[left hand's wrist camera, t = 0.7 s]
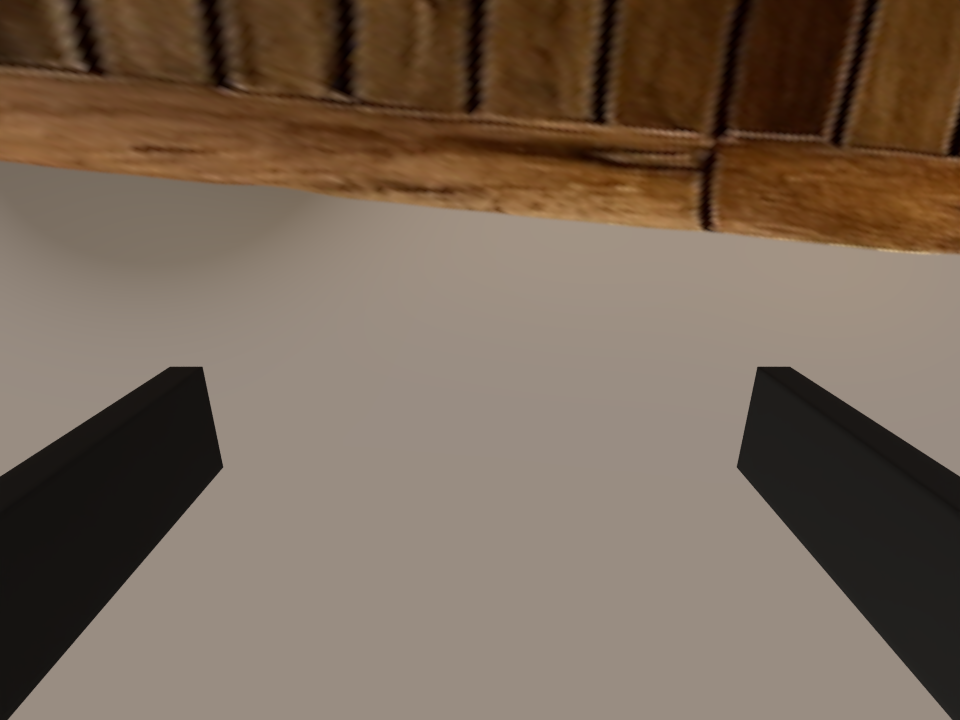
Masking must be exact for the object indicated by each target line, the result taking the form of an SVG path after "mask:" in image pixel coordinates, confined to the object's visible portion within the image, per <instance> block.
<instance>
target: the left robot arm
mask: <svg viewBox="0 0 960 720" xmlns="http://www.w3.org/2000/svg"><path fill="white" fill-rule="evenodd" d="M222 468H223V464H222V459H221V454H220V450H219V445H218V440H217V435H216V430H215V425H214V420H213V415H212V411H211V406H210V401H209V396H208V391H207V386H206V382H205V377H204V372H203V367H169V368H167V369H166V370H164V371H163V372H161V373H160V374H158V375H157V376H155V377H154V378H152V379H150V380H149V381H147V382H146V383H144V384H143V385H141V386H140V387H138V388H137V389H135V390H133V391H132V392H130V393H129V394H127V395H126V396H124V397H123V398H121V399H120V400H118V401H116V402H115V403H113V404H112V405H110V406H109V407H107V408H106V409H104V410H103V411H101V412H99V413H98V414H96V415H95V416H93V417H92V418H90V419H89V420H87V421H85V422H84V423H82V424H81V425H79V426H78V427H76V428H75V429H73V430H72V431H70V432H69V433H67V434H65V435H64V436H62V437H61V438H59V439H58V440H56V441H55V442H53V443H51V444H50V445H48V446H47V447H45V448H44V449H42V450H41V451H39V452H38V453H36V454H34V455H33V456H31V457H30V458H28V459H27V460H25V461H24V462H22V463H21V464H19V465H17V466H16V467H14V468H13V469H11V470H10V471H8V472H7V473H5V474H4V475H2V476H0V720H8V719H9V717H10V716H11V715H12V714H13V713H14V712H15V710H16V709H17V708H18V707H19V706H20V705H21V703H22V702H23V701H24V700H25V699H26V697H27V696H28V695H29V694H30V693H31V692H32V690H33V689H34V688H35V687H36V686H37V685H38V683H39V682H40V681H41V680H42V679H43V678H44V676H45V675H46V674H47V673H48V672H49V671H50V669H51V668H52V667H53V666H54V665H55V664H56V662H57V661H58V660H59V659H60V658H61V657H62V655H63V654H64V653H65V652H66V651H67V649H68V648H69V647H70V646H71V645H72V644H73V643H74V641H75V640H76V639H77V638H78V637H79V635H80V634H81V633H82V632H83V631H84V630H85V628H86V627H87V626H88V625H89V624H90V623H91V621H92V620H93V619H94V618H95V617H96V616H97V614H98V613H99V612H100V611H101V610H102V609H103V607H104V606H105V605H106V604H107V603H108V602H109V600H110V599H111V598H112V597H113V596H114V594H115V593H116V592H117V591H118V590H119V589H120V587H121V586H122V585H123V584H124V583H125V582H126V580H127V579H128V578H129V577H130V576H131V575H132V573H133V572H134V571H135V570H136V569H137V568H138V566H139V565H140V564H141V563H142V562H143V560H144V559H145V558H146V557H147V556H148V555H149V553H150V552H151V551H152V550H153V549H154V548H155V546H156V545H157V544H158V543H159V542H160V541H161V539H162V538H163V537H164V536H165V535H166V534H167V532H168V531H169V530H170V529H171V528H172V527H173V525H174V524H175V523H176V522H177V521H178V520H179V518H180V517H181V516H182V515H183V514H184V513H185V511H186V510H187V509H188V508H189V507H190V505H191V504H192V503H193V502H194V501H195V500H196V498H197V497H198V496H199V495H200V494H201V493H202V491H203V490H204V489H205V488H206V487H207V485H208V484H209V483H210V482H211V481H212V480H213V479H214V477H215V476H216V475H217V474H218V473H219V472H220V470H221V469H222ZM737 468H738V469H739V470H740V471H741V473H742V474H743V475H744V476H745V477H746V479H747V480H748V481H749V482H750V483H751V484H752V486H753V487H754V488H755V489H756V490H757V491H758V492H759V494H760V495H761V496H762V497H763V498H764V500H765V501H766V502H767V503H768V504H769V505H770V507H771V508H772V509H773V510H774V511H775V512H776V514H777V515H778V516H779V517H780V518H781V520H782V521H783V522H784V523H785V524H786V525H787V527H788V528H789V529H790V530H791V531H792V532H793V534H794V535H795V536H796V537H797V538H798V539H799V541H800V542H801V543H802V544H803V545H804V546H805V548H806V549H807V550H808V551H809V552H810V553H811V555H812V556H813V557H814V558H815V559H816V561H817V562H818V563H819V564H820V565H821V566H822V568H823V569H824V570H825V571H826V572H827V573H828V575H829V576H830V577H831V578H832V579H833V580H834V582H835V583H836V584H837V585H838V586H839V587H840V589H841V590H842V591H843V592H844V593H845V594H846V596H847V597H848V598H849V599H850V600H851V602H852V603H853V604H854V605H855V606H856V607H857V609H858V610H859V611H860V612H861V613H862V614H863V616H864V617H865V618H866V619H867V620H868V621H869V623H870V624H871V625H872V626H873V627H874V628H875V630H876V631H877V632H878V633H879V634H880V635H881V637H882V638H883V639H884V640H885V641H886V642H887V644H888V645H889V646H890V647H891V648H892V649H893V651H894V652H895V653H896V654H897V655H898V657H899V658H900V659H901V660H902V661H903V662H904V664H905V665H906V666H907V667H908V668H909V669H910V671H911V672H912V673H913V674H914V675H915V676H916V678H917V679H918V680H919V681H920V682H921V684H922V685H923V686H924V687H925V688H926V689H927V691H928V692H929V693H930V694H931V695H932V696H933V698H934V699H935V700H936V701H937V702H938V703H939V705H940V706H941V707H942V708H943V709H944V710H945V712H946V713H947V714H948V715H949V716H950V717H951V719H952V720H960V476H958V475H956V474H955V473H953V472H952V471H950V470H949V469H947V468H946V467H944V466H943V465H941V464H939V463H938V462H936V461H935V460H933V459H932V458H930V457H929V456H927V455H926V454H924V453H922V452H921V451H919V450H918V449H916V448H915V447H913V446H912V445H910V444H909V443H907V442H905V441H904V440H902V439H901V438H899V437H898V436H896V435H895V434H893V433H892V432H890V431H888V430H887V429H885V428H884V427H882V426H881V425H879V424H878V423H876V422H874V421H873V420H871V419H870V418H868V417H867V416H865V415H864V414H862V413H861V412H859V411H857V410H856V409H854V408H853V407H851V406H850V405H848V404H847V403H845V402H844V401H842V400H840V399H839V398H837V397H836V396H834V395H833V394H831V393H830V392H828V391H826V390H825V389H823V388H822V387H820V386H819V385H817V384H816V383H814V382H813V381H811V380H810V379H808V378H806V377H805V376H803V375H802V374H800V373H799V372H797V371H796V370H794V369H792V368H791V367H757V372H756V377H755V382H754V386H753V391H752V396H751V401H750V406H749V411H748V415H747V420H746V425H745V430H744V435H743V440H742V445H741V449H740V454H739V459H738V464H737Z"/></svg>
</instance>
